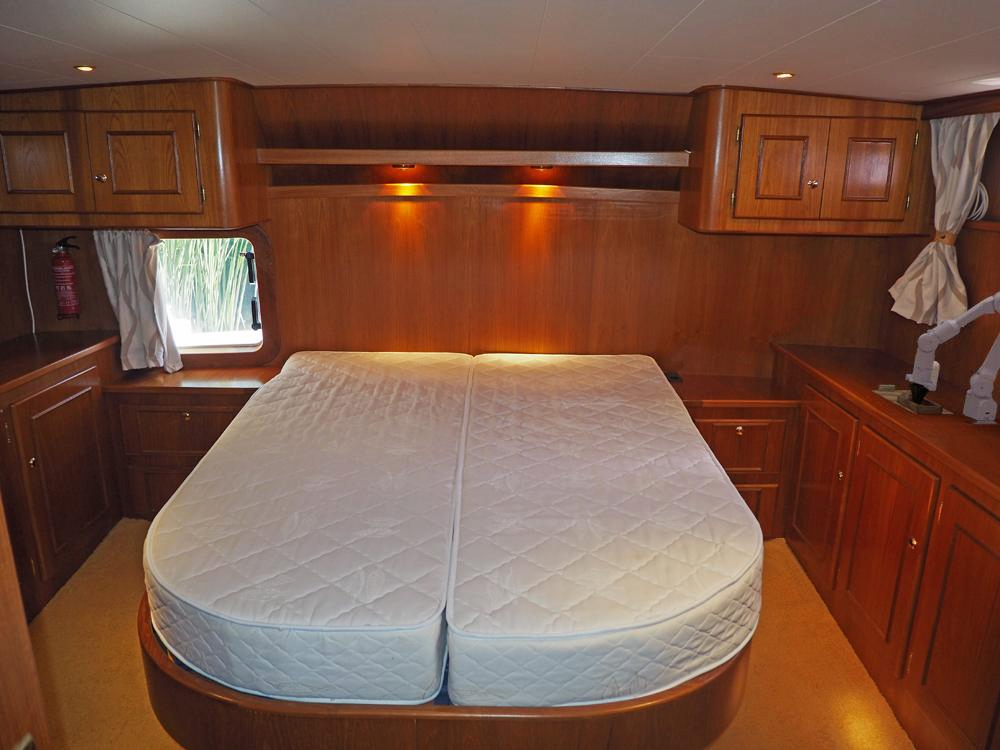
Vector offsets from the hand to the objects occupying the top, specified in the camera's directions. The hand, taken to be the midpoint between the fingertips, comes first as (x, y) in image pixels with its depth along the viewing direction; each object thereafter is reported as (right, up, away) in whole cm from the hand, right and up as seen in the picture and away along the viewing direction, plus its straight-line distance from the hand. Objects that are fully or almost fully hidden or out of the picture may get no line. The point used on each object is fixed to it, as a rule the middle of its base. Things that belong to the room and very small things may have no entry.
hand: (916, 404), depth 253 cm
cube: (0, 0, +5) cm, 5 cm away
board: (+1, 0, +8) cm, 8 cm away
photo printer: (+17, +4, +24) cm, 30 cm away
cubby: (0, -1, -1) cm, 2 cm away
